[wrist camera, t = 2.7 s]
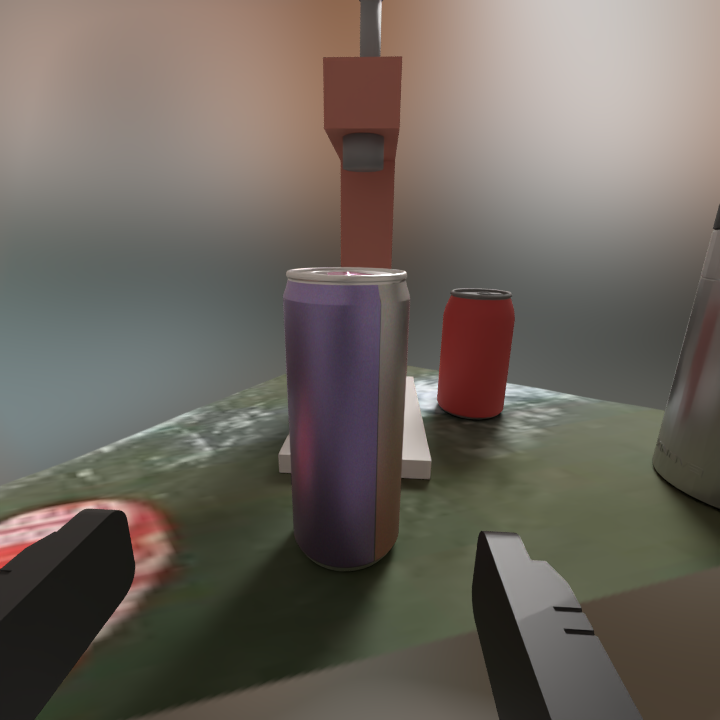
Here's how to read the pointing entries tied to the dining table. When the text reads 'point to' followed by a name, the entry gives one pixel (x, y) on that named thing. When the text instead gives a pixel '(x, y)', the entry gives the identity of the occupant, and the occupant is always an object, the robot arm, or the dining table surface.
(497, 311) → the beer can
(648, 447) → the dining table surface
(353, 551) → the beverage can
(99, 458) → the dining table surface
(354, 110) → the bench press
